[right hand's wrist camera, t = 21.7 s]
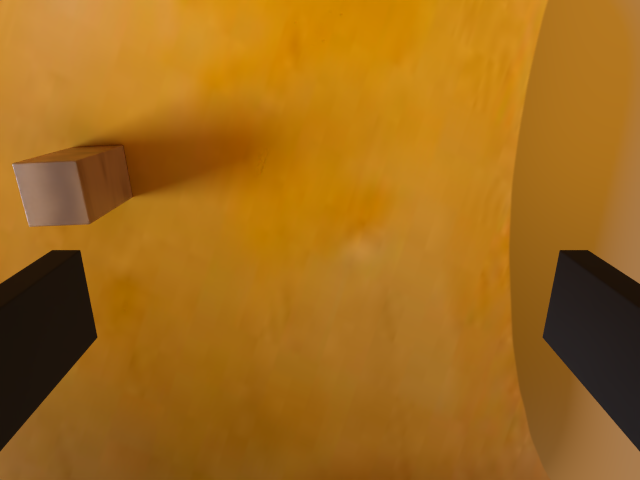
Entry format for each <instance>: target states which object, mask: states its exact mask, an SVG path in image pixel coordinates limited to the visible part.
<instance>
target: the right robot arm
mask: <svg viewBox="0 0 640 480" xmlns="http://www.w3.org/2000/svg"><path fill="white" fill-rule="evenodd" d="M96 338H97V333H96V328H95V323H94V318H93V313H92V308H91V303H90V298H89V293H88V287H87V282H86V277H85V272H84V267H83V262H82V257H81V252H80V250H52V251H50V252H49V253H47V254H46V255H44V256H43V257H41V258H40V259H38V260H36V261H35V262H33V263H32V264H30V265H29V266H27V267H26V268H24V269H23V270H21V271H19V272H18V273H16V274H15V275H13V276H12V277H10V278H9V279H7V280H6V281H4V282H3V283H1V284H0V451H1V450H2V449H3V447H4V446H5V445H6V444H7V443H8V442H9V440H10V439H11V438H12V437H13V436H14V435H15V433H16V432H17V431H18V430H19V429H20V428H21V426H22V425H23V424H24V423H25V422H26V420H27V419H28V418H29V417H30V416H31V415H32V413H33V412H34V411H35V410H36V409H37V408H38V406H39V405H40V404H41V403H42V402H43V401H44V399H45V398H46V397H47V396H48V395H49V394H50V392H51V391H52V390H53V389H54V388H55V386H56V385H57V384H58V383H59V382H60V381H61V379H62V378H63V377H64V376H65V375H66V374H67V372H68V371H69V370H70V369H71V368H72V367H73V365H74V364H75V363H76V362H77V361H78V360H79V358H80V357H81V356H82V355H83V354H84V352H85V351H86V350H87V349H88V348H89V347H90V345H91V344H92V343H93V342H94V341H95V340H96ZM543 338H544V340H545V341H546V342H547V343H548V344H549V345H550V347H551V348H552V349H553V350H554V351H555V352H556V354H557V355H558V356H559V357H560V358H561V359H562V361H563V362H564V363H565V364H566V365H567V367H568V368H569V369H570V370H571V371H572V372H573V374H574V375H575V376H576V377H577V378H578V379H579V381H580V382H581V383H582V384H583V385H584V386H585V388H586V389H587V390H588V391H589V392H590V394H591V395H592V396H593V397H594V398H595V399H596V401H597V402H598V403H599V404H600V405H601V406H602V408H603V409H604V410H605V411H606V412H607V413H608V415H609V416H610V417H611V418H612V419H613V420H614V422H615V423H616V424H617V425H618V426H619V428H620V429H621V430H622V431H623V432H624V433H625V435H626V436H627V437H628V438H629V439H630V440H631V442H632V443H633V444H634V445H635V446H636V447H637V449H638V450H639V451H640V284H639V283H637V282H636V281H634V280H633V279H631V278H630V277H628V276H627V275H625V274H624V273H622V272H620V271H619V270H617V269H616V268H614V267H613V266H611V265H610V264H608V263H607V262H605V261H604V260H602V259H600V258H599V257H597V256H596V255H594V254H593V253H591V252H590V251H588V250H560V252H559V257H558V262H557V267H556V272H555V277H554V282H553V288H552V293H551V298H550V303H549V308H548V313H547V318H546V323H545V328H544V333H543Z"/></svg>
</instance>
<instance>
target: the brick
mask: <svg viewBox="0 0 640 480" xmlns="http://www.w3.org/2000/svg"><path fill="white" fill-rule="evenodd" d="M12 165H13V168H14V172H15V176H16V179H17V183H18V187H19V191H20V194H21V198H22V202H23V205H24V209H25V213H26V216H27V220H28V224H29V226H30V227H33V226H57V225H81V224H91V223H92V222H94V221H95V220H97V219H99V218H100V217H102V216H103V215H105V214H106V213H108V212H110V211H111V210H113V209H114V208H116V207H118V206H119V205H121V204H122V203H124V202H126V201H127V200H129V199H130V198H132V192H131V186H130V181H129V175H128V170H127V165H126V159H125V154H124V148H123V145H116V146H93V147H72V148H68V149H64V150H61V151H57V152H53V153H49V154H46V155H42V156H38V157H35V158H31V159H27V160H24V161H20V162H16V163H13V164H12Z"/></svg>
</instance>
